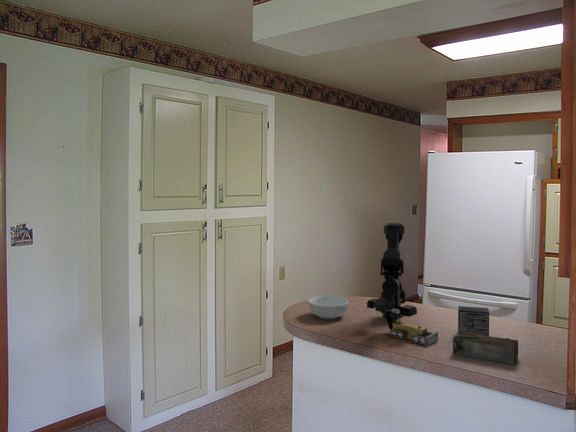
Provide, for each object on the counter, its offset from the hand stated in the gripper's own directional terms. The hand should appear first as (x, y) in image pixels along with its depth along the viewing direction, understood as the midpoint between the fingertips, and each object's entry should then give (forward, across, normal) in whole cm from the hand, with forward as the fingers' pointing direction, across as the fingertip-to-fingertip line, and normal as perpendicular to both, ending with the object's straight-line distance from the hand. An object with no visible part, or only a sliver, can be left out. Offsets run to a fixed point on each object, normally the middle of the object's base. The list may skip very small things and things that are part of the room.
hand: (390, 329), depth 177 cm
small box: (+1, +24, +17) cm, 30 cm away
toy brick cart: (+1, +9, 0) cm, 9 cm away
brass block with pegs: (+1, +8, 0) cm, 8 cm away
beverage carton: (+2, +35, +1) cm, 35 cm away
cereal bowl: (+2, -31, 0) cm, 31 cm away
